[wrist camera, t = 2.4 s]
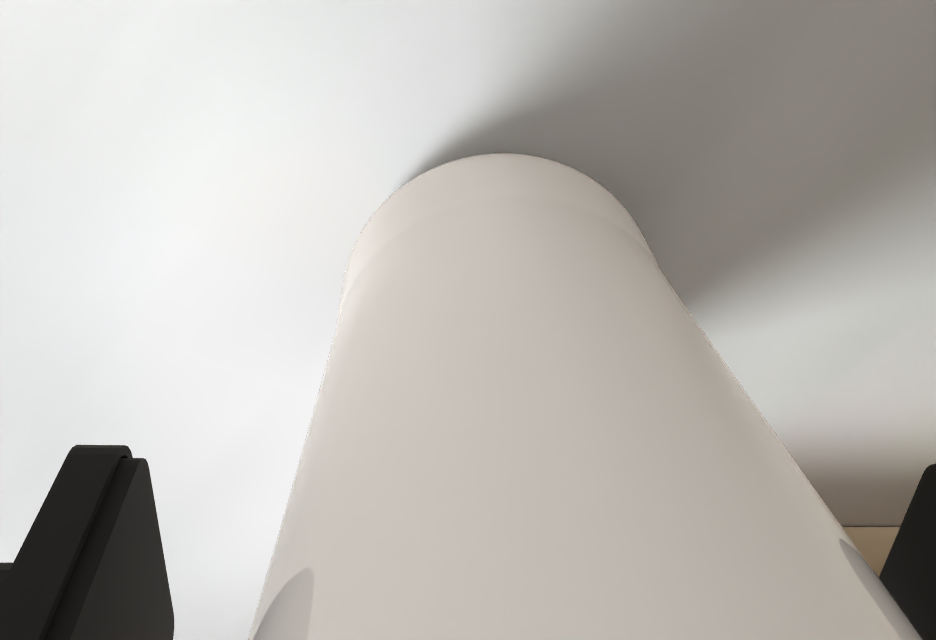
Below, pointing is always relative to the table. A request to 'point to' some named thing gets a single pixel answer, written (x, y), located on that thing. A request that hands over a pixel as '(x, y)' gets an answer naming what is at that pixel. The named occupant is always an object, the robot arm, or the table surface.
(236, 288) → the table surface
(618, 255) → the white tapered cup
